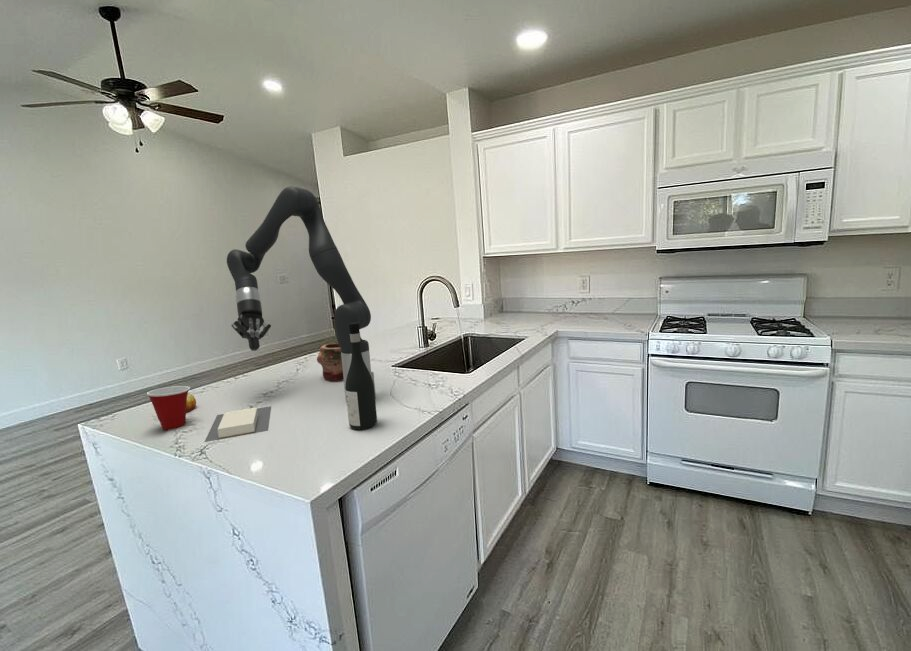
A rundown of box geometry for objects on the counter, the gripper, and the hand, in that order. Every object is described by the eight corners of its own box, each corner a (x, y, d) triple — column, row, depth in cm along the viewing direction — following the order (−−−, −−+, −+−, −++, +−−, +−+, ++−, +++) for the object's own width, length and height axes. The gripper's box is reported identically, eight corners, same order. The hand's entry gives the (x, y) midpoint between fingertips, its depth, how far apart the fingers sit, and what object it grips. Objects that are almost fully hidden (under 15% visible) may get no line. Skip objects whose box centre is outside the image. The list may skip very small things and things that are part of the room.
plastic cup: (203, 422, 131) (197, 385, 129) (168, 436, 122) (161, 396, 120) (181, 418, 136) (175, 382, 134) (145, 431, 126) (138, 393, 124)
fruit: (204, 408, 143) (193, 388, 140) (172, 427, 136) (159, 407, 133) (193, 401, 150) (182, 382, 147) (161, 418, 143) (149, 399, 140)
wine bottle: (353, 433, 117) (342, 326, 112) (346, 423, 124) (336, 323, 119) (381, 426, 121) (372, 322, 116) (373, 417, 128) (364, 319, 123)
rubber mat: (217, 416, 136) (217, 414, 136) (271, 407, 141) (271, 406, 141) (204, 443, 115) (204, 441, 115) (268, 432, 121) (268, 430, 121)
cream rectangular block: (224, 412, 129) (217, 429, 116) (257, 407, 132) (253, 423, 120) (226, 421, 130) (219, 438, 117) (258, 415, 133) (254, 432, 120)
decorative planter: (369, 375, 174) (366, 342, 171) (353, 384, 162) (349, 349, 160) (328, 373, 180) (325, 341, 178) (310, 381, 169) (306, 347, 167)
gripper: (234, 295, 138) (240, 344, 133) (272, 300, 149) (279, 346, 144) (223, 305, 143) (229, 353, 137) (262, 309, 153) (268, 354, 148)
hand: (254, 349), depth 140 cm, fingers closed
